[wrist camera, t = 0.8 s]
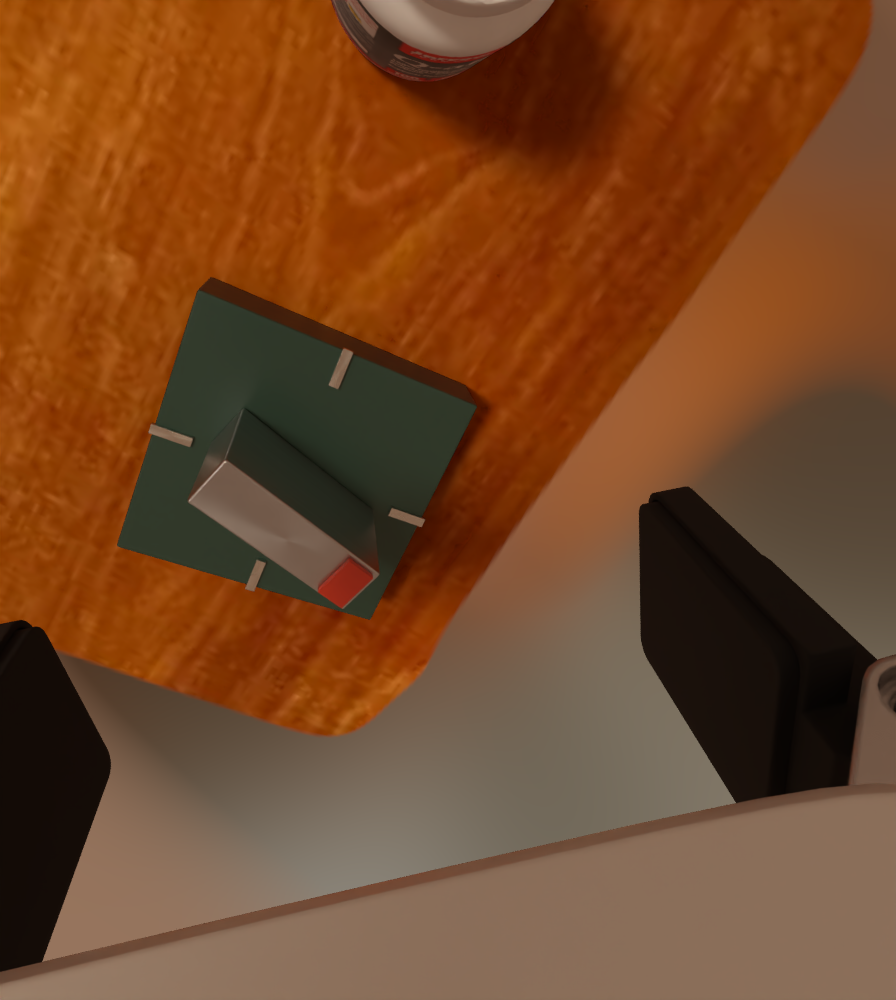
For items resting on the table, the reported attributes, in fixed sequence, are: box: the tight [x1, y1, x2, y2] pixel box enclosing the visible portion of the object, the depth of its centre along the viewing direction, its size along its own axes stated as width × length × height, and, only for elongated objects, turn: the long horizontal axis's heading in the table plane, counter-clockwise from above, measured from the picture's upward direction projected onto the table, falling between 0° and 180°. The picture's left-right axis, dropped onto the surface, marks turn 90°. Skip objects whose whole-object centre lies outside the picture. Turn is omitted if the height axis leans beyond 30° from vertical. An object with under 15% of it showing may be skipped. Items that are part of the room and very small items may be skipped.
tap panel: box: [117, 277, 477, 620], centre depth 26 cm, size 10×10×3 cm
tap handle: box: [187, 409, 380, 609], centre depth 23 cm, size 6×2×5 cm, turn 44°
